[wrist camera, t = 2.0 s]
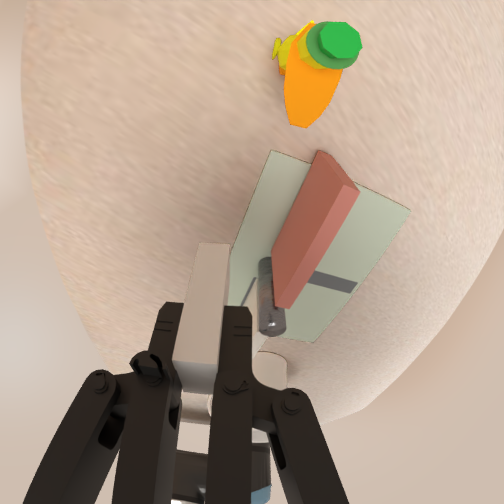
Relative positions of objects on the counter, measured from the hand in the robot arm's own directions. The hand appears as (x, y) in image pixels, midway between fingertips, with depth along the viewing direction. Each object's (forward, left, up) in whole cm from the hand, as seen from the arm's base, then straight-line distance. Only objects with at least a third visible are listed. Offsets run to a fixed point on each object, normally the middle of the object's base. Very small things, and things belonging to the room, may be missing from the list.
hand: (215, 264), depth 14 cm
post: (-7, -6, -11) cm, 14 cm away
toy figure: (+11, -1, -11) cm, 16 cm away
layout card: (-7, -10, -11) cm, 16 cm away
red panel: (0, -6, -10) cm, 12 cm away
